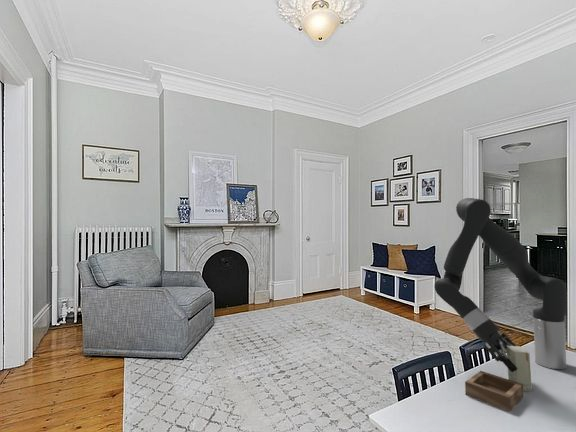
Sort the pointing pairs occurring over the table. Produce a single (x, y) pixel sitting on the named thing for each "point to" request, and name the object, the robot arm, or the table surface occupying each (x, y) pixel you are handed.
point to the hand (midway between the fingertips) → (519, 367)
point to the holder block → (494, 390)
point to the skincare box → (520, 366)
